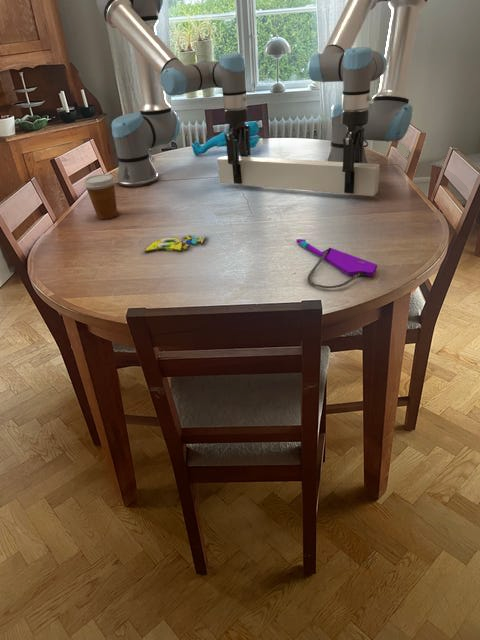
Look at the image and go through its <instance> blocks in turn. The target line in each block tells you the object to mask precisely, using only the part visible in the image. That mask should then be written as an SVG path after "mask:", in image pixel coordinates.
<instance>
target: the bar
mask: <svg viewBox="0 0 480 640" xmlns="http://www.w3.org/2000/svg"><path fill="white" fill-rule="evenodd" d="M239 164H240V166H241V179H242V183H241V184H237V183H234V179H233V167H232V164H228V157H227V155H222V156H220V157H218V158H217V168H218V169H217V170H218V181H219V184H225V185H235V186H236V185H237V186H248V187H249V186H250V187H260V188H271V189H285V190H296V191H308V192H319V193H330V194H331V193H332V194H343V195H354V196H355V195H356V196H367V197H375V196H376V194H378V192H379V183H380V182H379V181H380V167H381V164H380V163H368V162H367V163H354V171H355V174H354V193H344V186H345V172H342V170H343V162H331V161H326V160H312V159H311V160H309V159H291V158H274V157H257V156H256V157H255V156H248V157H240V155H239Z"/></svg>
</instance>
